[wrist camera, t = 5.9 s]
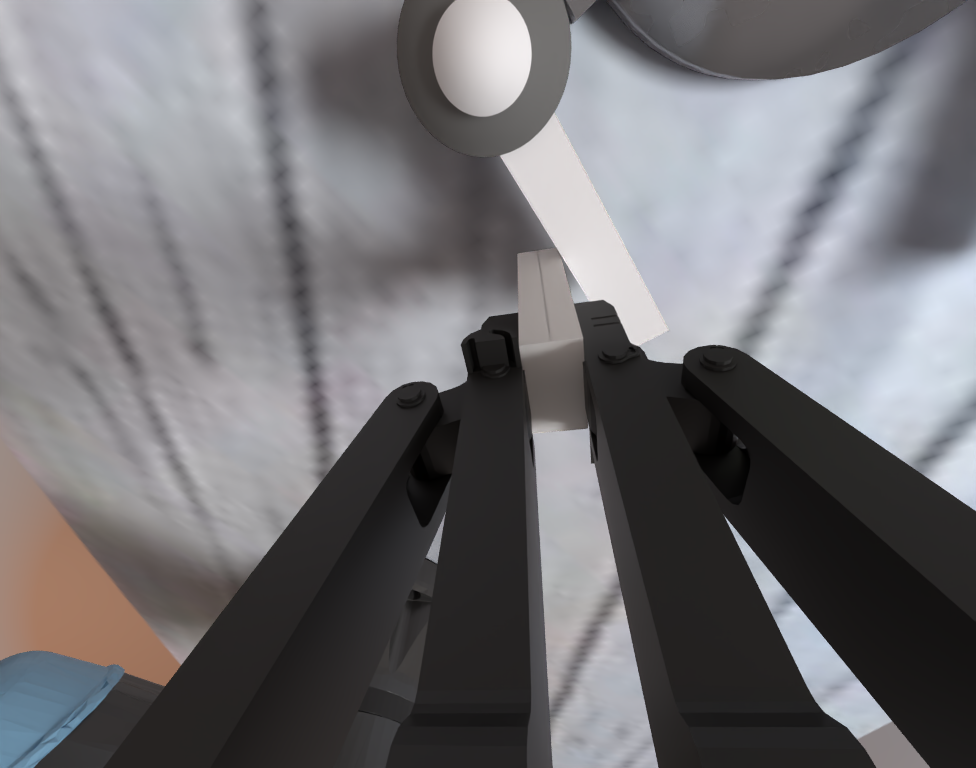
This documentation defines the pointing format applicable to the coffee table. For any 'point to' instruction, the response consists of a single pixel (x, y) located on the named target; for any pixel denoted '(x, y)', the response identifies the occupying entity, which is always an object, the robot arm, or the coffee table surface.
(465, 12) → the knob
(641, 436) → the robot arm
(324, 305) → the coffee table surface
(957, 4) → the base
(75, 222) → the coffee table surface
